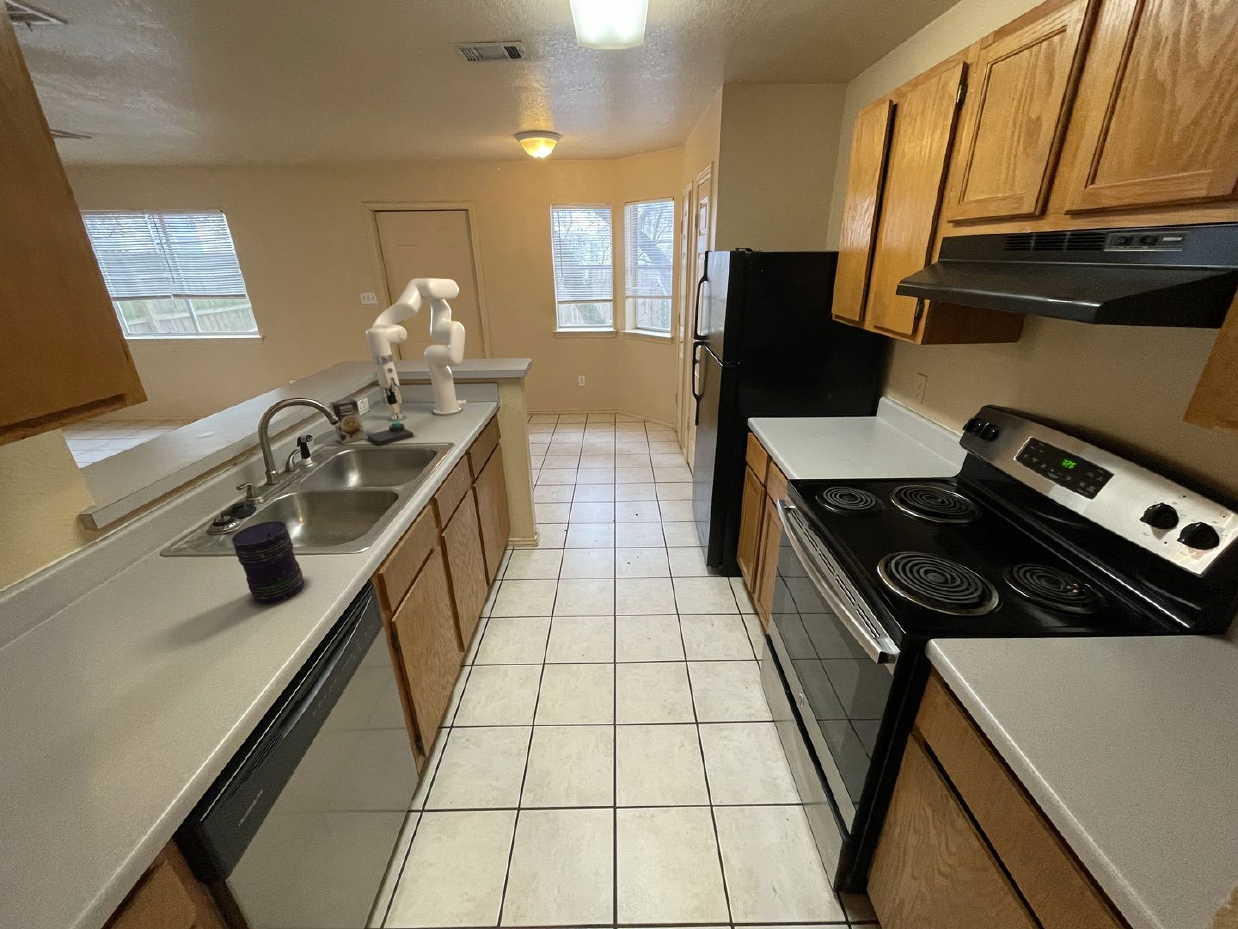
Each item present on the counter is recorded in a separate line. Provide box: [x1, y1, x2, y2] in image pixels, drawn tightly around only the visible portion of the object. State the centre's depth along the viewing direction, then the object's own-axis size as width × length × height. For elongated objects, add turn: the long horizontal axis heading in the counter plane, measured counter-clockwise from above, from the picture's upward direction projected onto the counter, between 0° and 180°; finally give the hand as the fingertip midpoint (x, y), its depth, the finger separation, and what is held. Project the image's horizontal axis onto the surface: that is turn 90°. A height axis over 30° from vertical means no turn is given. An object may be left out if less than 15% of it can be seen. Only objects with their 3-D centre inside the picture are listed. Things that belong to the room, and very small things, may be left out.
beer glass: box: [383, 386, 405, 421], centre depth 232 cm, size 7×7×15 cm
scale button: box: [391, 421, 401, 427], centre depth 213 cm, size 3×3×2 cm
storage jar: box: [231, 520, 306, 606], centre depth 109 cm, size 10×10×15 cm
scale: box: [366, 423, 414, 446], centre depth 209 cm, size 14×12×4 cm
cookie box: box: [329, 398, 366, 444], centre depth 206 cm, size 9×6×16 cm
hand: (392, 403), depth 210 cm, fingers closed
